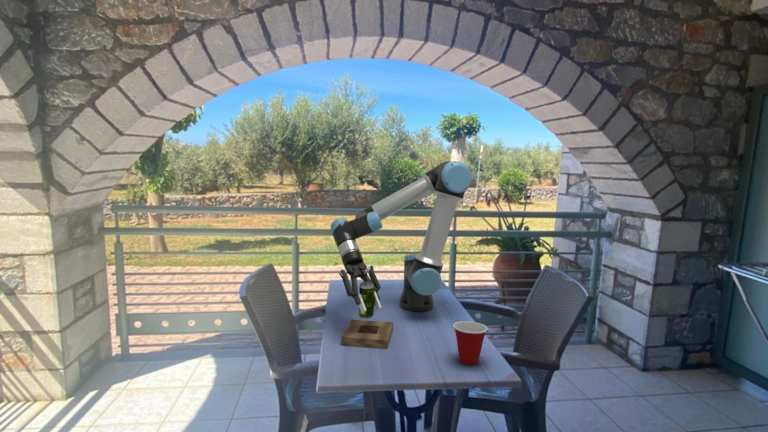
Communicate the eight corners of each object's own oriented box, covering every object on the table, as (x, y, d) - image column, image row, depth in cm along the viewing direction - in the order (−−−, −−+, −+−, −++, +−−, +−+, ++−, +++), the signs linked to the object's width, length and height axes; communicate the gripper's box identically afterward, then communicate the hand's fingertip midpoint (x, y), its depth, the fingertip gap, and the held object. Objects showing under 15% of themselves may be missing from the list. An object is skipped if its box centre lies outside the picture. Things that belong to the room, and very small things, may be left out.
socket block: (393, 329, 158) (393, 322, 157) (387, 348, 142) (387, 340, 142) (351, 326, 160) (351, 319, 160) (341, 345, 144) (341, 336, 144)
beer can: (365, 312, 154) (366, 280, 152) (376, 316, 150) (377, 283, 149) (355, 316, 150) (356, 283, 148) (366, 320, 146) (367, 287, 144)
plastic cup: (487, 356, 138) (489, 321, 136) (484, 371, 127) (486, 334, 126) (454, 350, 141) (456, 317, 139) (448, 365, 131) (450, 329, 129)
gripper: (368, 257, 165) (389, 310, 154) (325, 263, 156) (344, 320, 144) (375, 247, 160) (398, 301, 148) (331, 252, 150) (352, 310, 139)
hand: (371, 310), depth 146 cm, fingers closed on beer can, 5 cm apart
